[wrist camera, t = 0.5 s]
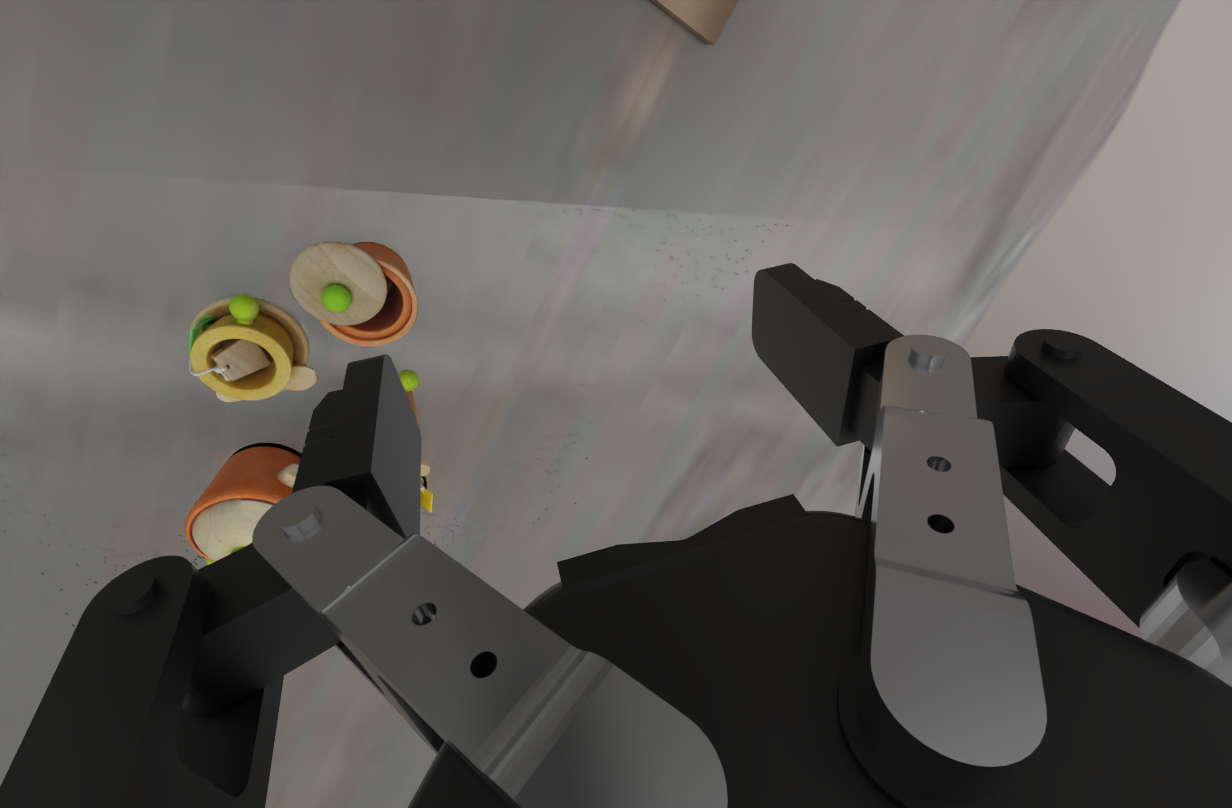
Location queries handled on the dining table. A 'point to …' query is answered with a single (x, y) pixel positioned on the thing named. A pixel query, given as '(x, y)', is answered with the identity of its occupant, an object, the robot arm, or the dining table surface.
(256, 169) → the dining table surface
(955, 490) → the robot arm
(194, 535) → the toy tea set
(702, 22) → the walnut board
